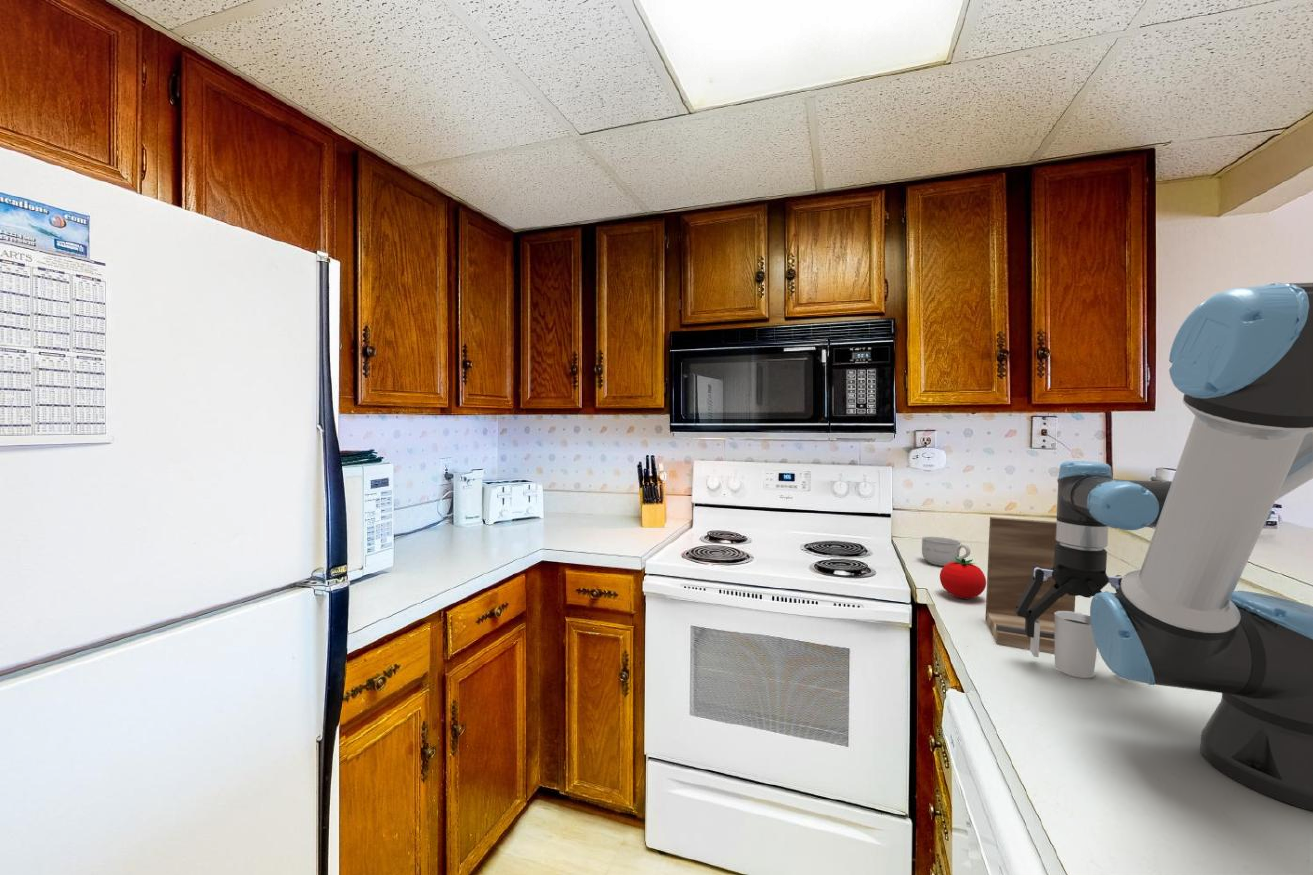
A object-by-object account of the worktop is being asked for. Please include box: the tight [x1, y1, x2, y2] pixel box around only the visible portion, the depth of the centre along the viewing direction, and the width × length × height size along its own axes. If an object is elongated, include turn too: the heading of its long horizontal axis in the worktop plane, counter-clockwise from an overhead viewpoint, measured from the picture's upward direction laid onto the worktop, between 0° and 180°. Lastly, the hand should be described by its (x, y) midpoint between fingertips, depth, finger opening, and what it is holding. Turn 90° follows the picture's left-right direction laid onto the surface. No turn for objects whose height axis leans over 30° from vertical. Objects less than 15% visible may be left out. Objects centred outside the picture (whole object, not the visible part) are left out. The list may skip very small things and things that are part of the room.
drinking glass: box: [1054, 611, 1098, 679], centre depth 98 cm, size 7×7×10 cm
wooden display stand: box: [984, 516, 1076, 654], centre depth 112 cm, size 14×16×24 cm
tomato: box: [939, 557, 987, 599], centre depth 137 cm, size 10×10×10 cm
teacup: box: [921, 535, 971, 567], centre depth 166 cm, size 14×11×8 cm
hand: (1074, 660), depth 99 cm, fingers open, 12 cm apart
